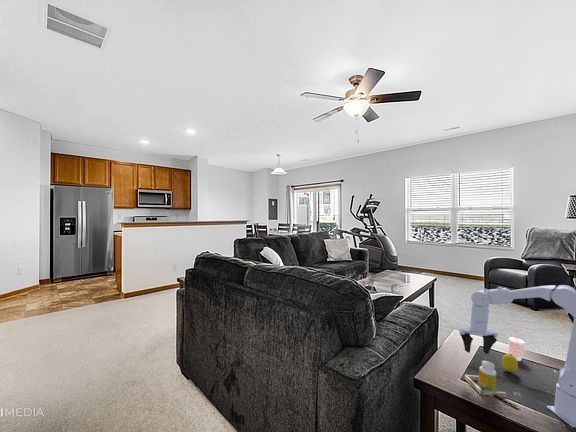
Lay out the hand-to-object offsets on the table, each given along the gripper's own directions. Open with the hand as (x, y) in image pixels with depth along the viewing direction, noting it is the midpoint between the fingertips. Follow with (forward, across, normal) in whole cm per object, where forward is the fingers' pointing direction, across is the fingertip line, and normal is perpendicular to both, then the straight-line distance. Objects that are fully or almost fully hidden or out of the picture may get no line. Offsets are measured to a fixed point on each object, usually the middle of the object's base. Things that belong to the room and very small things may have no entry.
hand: (476, 352), depth 114 cm
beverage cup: (+11, -32, -19) cm, 39 cm away
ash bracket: (+10, 0, +7) cm, 12 cm away
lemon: (+11, -19, -6) cm, 23 cm away
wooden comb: (+11, 0, +13) cm, 17 cm away
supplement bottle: (+11, 0, +7) cm, 13 cm away
